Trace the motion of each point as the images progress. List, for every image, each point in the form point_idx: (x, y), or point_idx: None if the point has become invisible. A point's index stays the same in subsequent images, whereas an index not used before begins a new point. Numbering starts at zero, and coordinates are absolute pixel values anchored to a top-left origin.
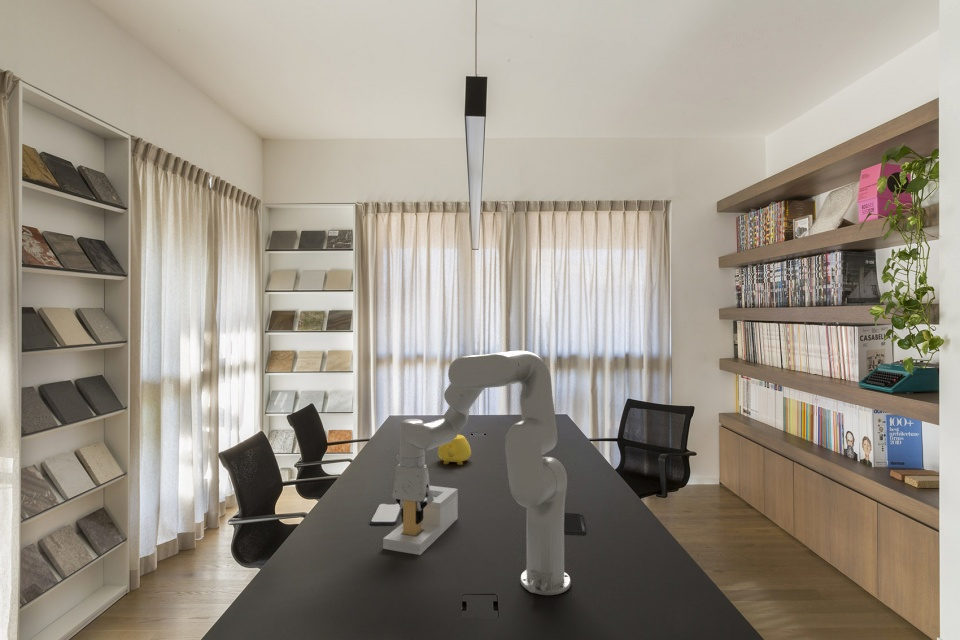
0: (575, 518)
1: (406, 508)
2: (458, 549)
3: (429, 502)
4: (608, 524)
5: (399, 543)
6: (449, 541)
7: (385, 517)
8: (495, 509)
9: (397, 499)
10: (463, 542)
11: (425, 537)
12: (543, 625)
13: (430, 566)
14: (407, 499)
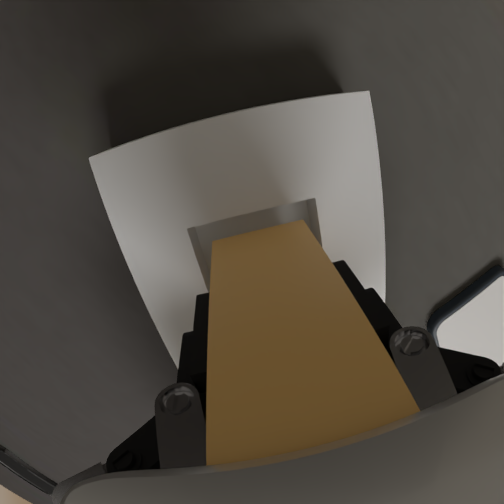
0: (40, 485)
1: (332, 347)
2: (37, 296)
3: (79, 481)
4: (5, 474)
5: (241, 110)
6: (116, 334)
7: (474, 325)
8: None
9: (490, 378)
10: (73, 349)
11: (136, 254)
12: None
13: (7, 104)
14: (330, 458)
